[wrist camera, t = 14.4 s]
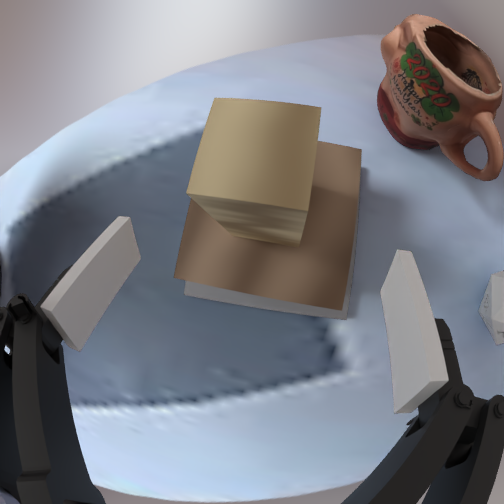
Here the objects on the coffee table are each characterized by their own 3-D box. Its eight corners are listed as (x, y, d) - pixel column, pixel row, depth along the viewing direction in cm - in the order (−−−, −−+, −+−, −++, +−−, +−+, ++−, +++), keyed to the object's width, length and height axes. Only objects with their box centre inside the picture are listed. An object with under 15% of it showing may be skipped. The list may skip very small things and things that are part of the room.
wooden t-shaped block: (178, 278, 22) (92, 268, 11) (213, 134, 24) (169, 50, 13) (339, 309, 20) (388, 330, 10) (359, 154, 22) (397, 69, 11)
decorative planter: (484, 190, 25) (552, 148, 11) (417, 218, 26) (494, 171, 12) (411, 68, 28) (440, 1, 15) (341, 77, 29) (355, -6, 16)
